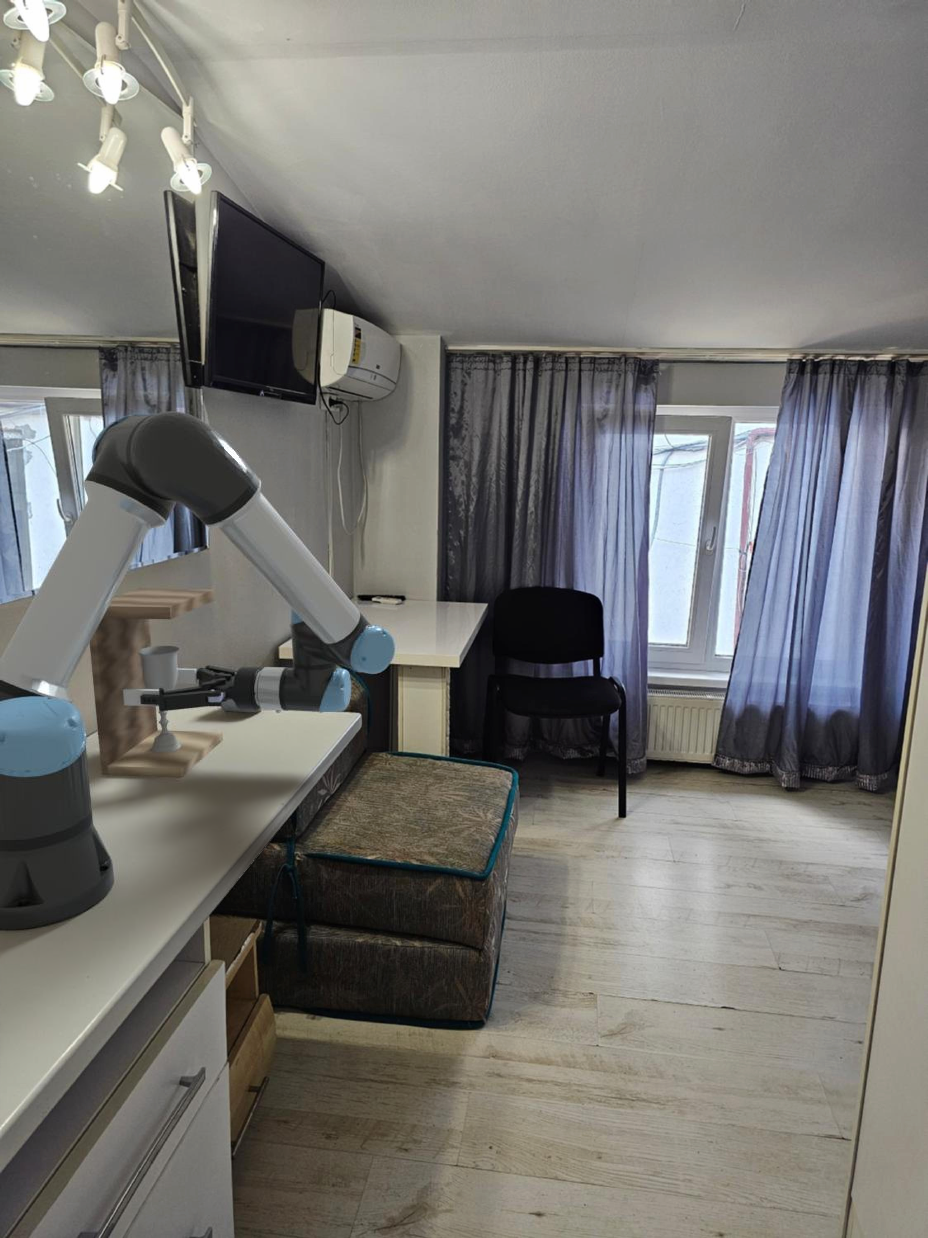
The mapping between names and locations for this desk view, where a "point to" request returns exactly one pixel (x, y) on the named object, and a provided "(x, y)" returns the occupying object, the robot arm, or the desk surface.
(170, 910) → the desk surface
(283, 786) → the desk surface
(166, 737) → the chalice
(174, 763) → the walnut shelf
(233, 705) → the ceramic mug
